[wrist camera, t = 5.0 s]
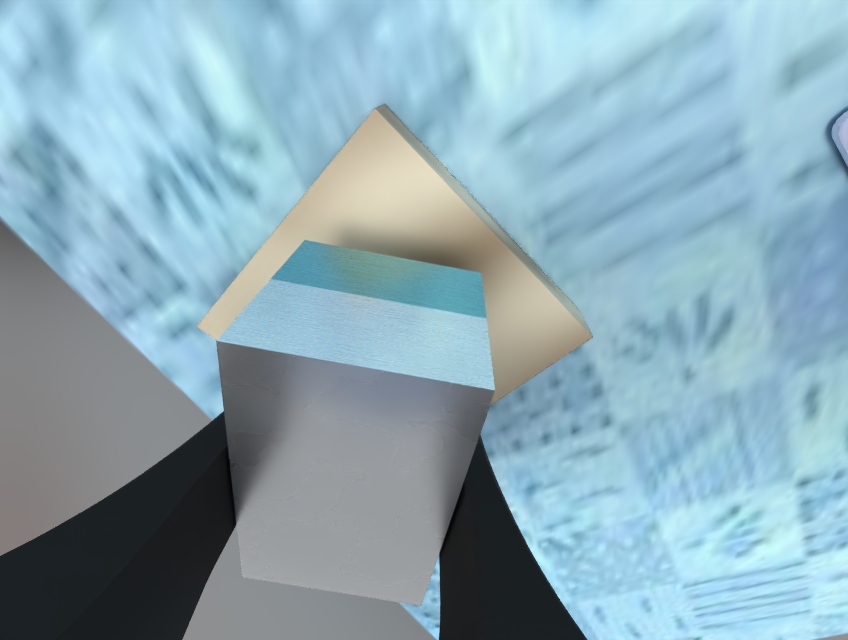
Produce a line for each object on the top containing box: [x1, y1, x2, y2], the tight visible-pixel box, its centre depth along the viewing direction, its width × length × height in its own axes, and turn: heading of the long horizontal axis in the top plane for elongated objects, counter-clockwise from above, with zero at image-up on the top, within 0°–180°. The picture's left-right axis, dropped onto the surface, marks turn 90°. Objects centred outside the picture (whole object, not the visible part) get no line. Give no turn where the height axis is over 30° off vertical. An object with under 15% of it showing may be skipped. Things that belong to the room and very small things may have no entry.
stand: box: [197, 104, 593, 405], centre depth 17 cm, size 11×11×2 cm
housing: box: [216, 240, 495, 606], centre depth 12 cm, size 8×5×5 cm, turn 170°
